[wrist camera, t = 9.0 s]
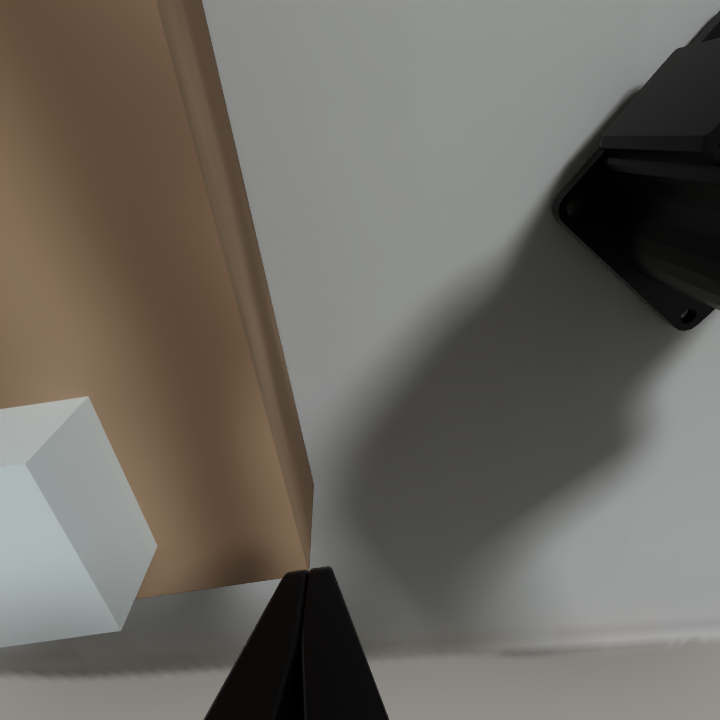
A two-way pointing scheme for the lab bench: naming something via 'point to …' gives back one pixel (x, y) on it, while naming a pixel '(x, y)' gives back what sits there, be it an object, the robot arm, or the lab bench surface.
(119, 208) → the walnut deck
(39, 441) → the pale blue slide box
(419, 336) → the lab bench surface
